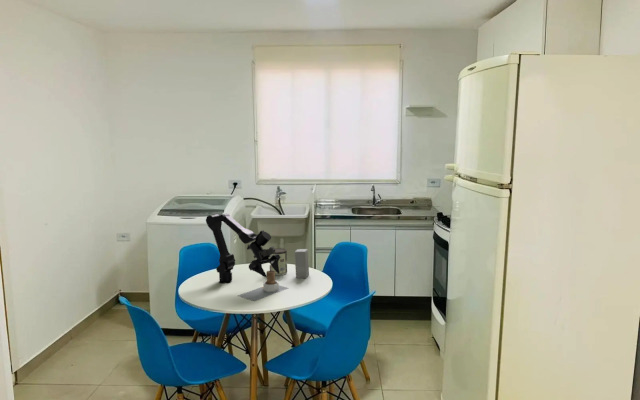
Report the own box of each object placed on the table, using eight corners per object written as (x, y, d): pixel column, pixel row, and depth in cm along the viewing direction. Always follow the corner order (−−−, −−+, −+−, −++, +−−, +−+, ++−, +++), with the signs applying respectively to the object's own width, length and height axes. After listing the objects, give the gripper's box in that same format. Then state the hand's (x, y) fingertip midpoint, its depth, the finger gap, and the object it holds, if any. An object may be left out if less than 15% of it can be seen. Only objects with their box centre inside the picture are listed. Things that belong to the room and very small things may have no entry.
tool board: (254, 303, 216) (253, 294, 216) (236, 297, 224) (236, 289, 224) (289, 289, 235) (289, 281, 235) (272, 285, 244) (271, 277, 243)
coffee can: (277, 269, 274) (276, 247, 272) (290, 272, 269) (290, 249, 267) (266, 273, 265) (266, 250, 264) (280, 276, 260) (279, 253, 258)
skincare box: (306, 278, 255) (305, 252, 253) (294, 277, 256) (293, 251, 254) (309, 274, 263) (309, 248, 261) (298, 273, 265) (297, 248, 263)
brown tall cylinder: (266, 290, 232) (266, 266, 230) (267, 287, 236) (266, 264, 234) (275, 290, 232) (274, 266, 230) (275, 287, 236) (274, 264, 235)
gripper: (251, 245, 226) (266, 270, 221) (277, 239, 240) (292, 262, 235) (242, 258, 233) (256, 282, 227) (268, 251, 247) (282, 274, 241)
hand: (272, 274), depth 232 cm, fingers open, 9 cm apart
